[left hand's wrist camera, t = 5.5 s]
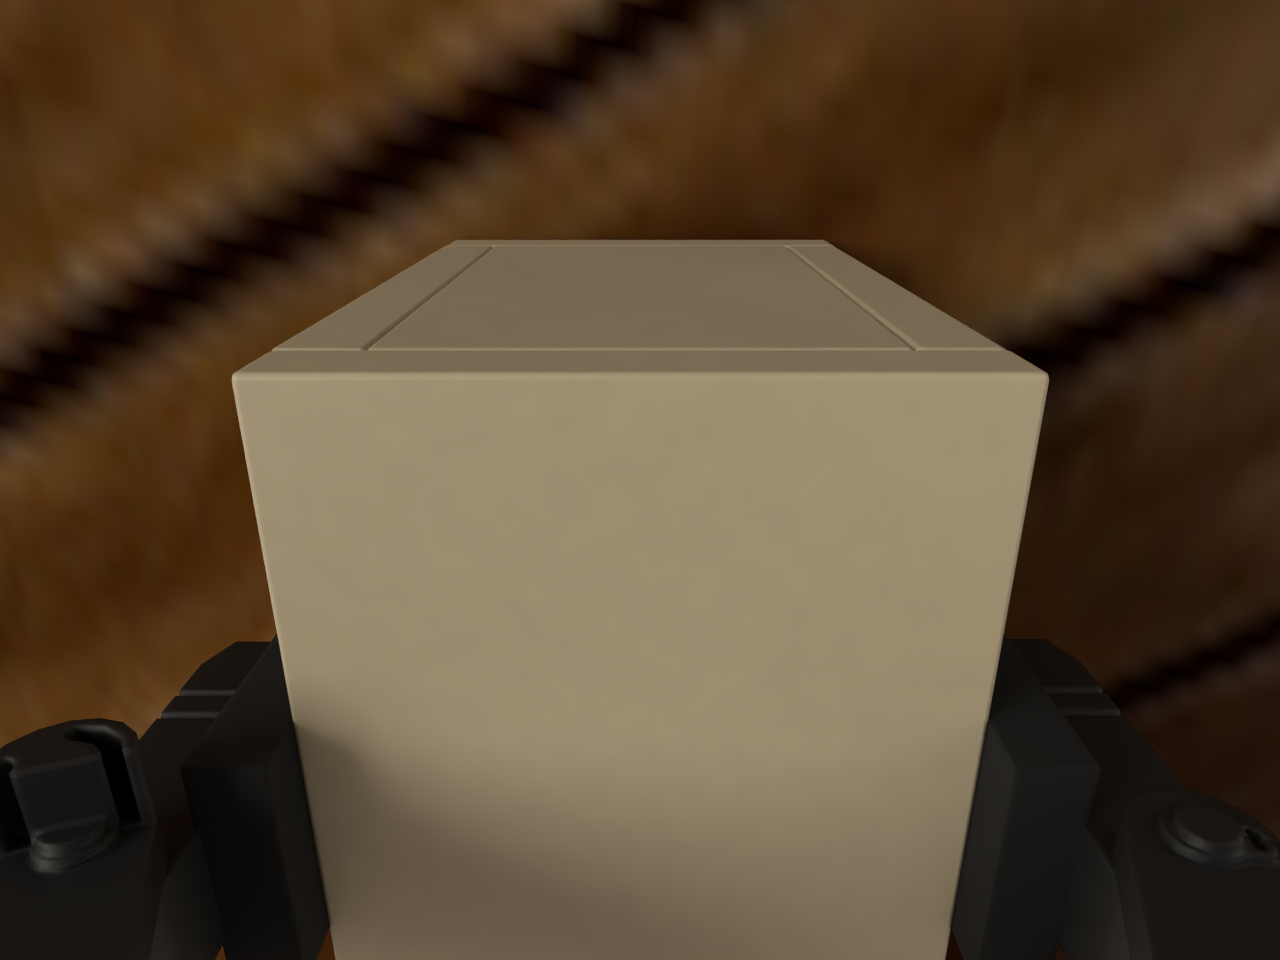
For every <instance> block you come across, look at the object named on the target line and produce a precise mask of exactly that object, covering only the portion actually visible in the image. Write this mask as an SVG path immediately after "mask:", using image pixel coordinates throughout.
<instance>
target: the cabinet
mask: <svg viewBox="0 0 1280 960" xmlns="http://www.w3.org/2000/svg"><path fill="white" fill-rule="evenodd" d="M1048 384H1049V377H1048V373H1046V372H1044V371H1043V370H1041V369H1039V368H1038V367H1036V366H1034V365H1033V364H1031V363H1029V362H1028V361H1026V360H1024V359H1023V358H1021V357H1019V356H1018V355H1016V354H1014V353H1013V352H1010V351H1008V350H1005V349H1004V348H1003V347H1001V346H999V345H998V344H996V343H994V342H993V341H991V340H989V339H988V338H986V337H984V336H983V335H981V334H979V333H978V332H976V331H974V330H973V329H971V328H969V327H968V326H966V325H964V324H963V323H961V322H959V321H958V320H956V319H954V318H953V317H951V316H949V315H948V314H946V313H944V312H943V311H941V310H939V309H938V308H936V307H934V306H933V305H931V304H929V303H928V302H926V301H924V300H923V299H921V298H919V297H918V296H916V295H914V294H913V293H911V292H909V291H908V290H906V289H904V288H903V287H901V286H899V285H898V284H896V283H894V282H893V281H891V280H889V279H888V278H886V277H884V276H883V275H881V274H879V273H878V272H876V271H874V270H873V269H871V268H869V267H868V266H866V265H864V264H863V263H861V262H859V261H858V260H856V259H854V258H853V257H851V256H849V255H848V254H846V253H844V252H843V251H841V250H839V249H838V248H836V247H834V246H833V245H831V244H830V243H828V242H826V241H824V240H456V241H454V242H452V243H451V244H449V245H447V246H445V247H443V248H441V249H440V250H438V251H436V252H435V253H433V254H431V255H430V256H428V257H426V258H425V259H423V260H421V261H420V262H418V263H416V264H415V265H413V266H411V267H409V268H408V269H406V270H404V271H403V272H401V273H399V274H398V275H396V276H394V277H393V278H391V279H389V280H388V281H386V282H384V283H383V284H381V285H379V286H378V287H376V288H374V289H373V290H371V291H369V292H368V293H366V294H364V295H363V296H361V297H359V298H358V299H356V300H354V301H352V302H351V303H349V304H347V305H346V306H344V307H342V308H341V309H339V310H337V311H336V312H334V313H332V314H331V315H329V316H327V317H326V318H324V319H322V320H321V321H319V322H317V323H316V324H314V325H312V326H311V327H309V328H307V329H306V330H304V331H302V332H301V333H299V334H297V335H296V336H294V337H292V338H290V339H289V340H287V341H285V342H284V343H282V344H280V345H279V346H277V347H275V348H274V349H273V350H272V351H271V352H269V353H267V354H265V355H263V356H262V357H260V358H258V359H257V360H255V361H253V362H252V363H250V364H248V365H247V366H245V367H243V368H242V369H240V370H238V371H237V372H235V373H233V376H232V385H233V390H234V396H235V401H236V407H237V413H238V418H239V424H240V429H241V435H242V440H243V446H244V451H245V457H246V463H247V468H248V474H249V479H250V485H251V490H252V496H253V502H254V507H255V513H256V518H257V524H258V529H259V535H260V540H261V546H262V552H263V557H264V563H265V568H266V574H267V579H268V585H269V591H270V596H271V602H272V607H273V613H274V618H275V624H276V629H277V635H278V641H279V646H280V652H281V657H282V663H283V668H284V674H285V680H286V685H287V691H288V696H289V702H290V707H291V713H292V718H293V724H294V730H295V735H296V741H297V746H298V752H299V757H300V763H301V769H302V774H303V780H304V785H305V791H306V796H307V802H308V807H309V813H310V819H311V824H312V830H313V835H314V841H315V846H316V852H317V858H318V863H319V869H320V874H321V880H322V885H323V891H324V897H325V902H326V908H327V913H328V919H329V924H330V930H331V935H332V941H333V947H334V952H335V958H336V960H945V957H946V951H947V946H948V940H949V935H950V929H951V923H952V918H953V912H954V907H955V901H956V896H957V890H958V885H959V879H960V873H961V868H962V862H963V857H964V851H965V846H966V840H967V834H968V829H969V823H970V818H971V812H972V807H973V801H974V796H975V790H976V784H977V779H978V773H979V768H980V762H981V757H982V751H983V745H984V740H985V734H986V729H987V723H988V718H989V712H990V707H991V701H992V695H993V690H994V684H995V679H996V673H997V668H998V662H999V656H1000V651H1001V645H1002V640H1003V634H1004V629H1005V623H1006V618H1007V612H1008V606H1009V601H1010V595H1011V590H1012V584H1013V579H1014V573H1015V567H1016V562H1017V556H1018V551H1019V545H1020V540H1021V534H1022V529H1023V523H1024V517H1025V512H1026V506H1027V501H1028V495H1029V490H1030V484H1031V479H1032V473H1033V467H1034V462H1035V456H1036V451H1037V445H1038V440H1039V434H1040V428H1041V423H1042V417H1043V412H1044V406H1045V401H1046V395H1047V390H1048Z"/></svg>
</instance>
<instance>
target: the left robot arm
mask: <svg viewBox="0 0 1280 960" xmlns="http://www.w3.org/2000/svg"><path fill="white" fill-rule="evenodd" d="M329 927H330V924H329V919H328V913H327V908H326V902H325V897H324V891H323V885H322V880H321V874H320V869H319V863H318V858H317V852H316V846H315V841H314V835H313V830H312V824H311V819H310V813H309V807H308V802H307V796H306V791H305V785H304V780H303V774H302V769H301V763H300V757H299V752H298V746H297V741H296V735H295V730H294V724H293V718H292V713H291V707H290V702H289V696H288V691H287V685H286V680H285V674H284V668H283V663H282V657H281V652H280V646H279V641H278V635H277V634H276V635H275V637H274V638H273V640H272V641H271V642H235V643H233V644H232V645H230V646H229V647H227V648H226V649H224V650H223V651H221V652H220V653H218V654H217V655H215V656H214V657H212V658H211V659H209V660H208V661H206V662H204V663H203V664H201V666H200V667H199V668H198V669H197V670H196V672H195V673H194V674H193V675H192V677H191V678H190V679H189V680H188V681H187V683H186V684H185V685H184V686H183V688H182V689H181V690H180V695H179V696H175V697H174V698H173V700H172V701H171V702H170V703H169V705H168V706H167V707H166V708H165V709H164V711H163V712H162V716H161V719H156V720H155V722H154V723H153V724H152V725H151V726H150V728H149V729H148V730H147V731H146V733H145V734H144V735H143V736H142V737H141V739H140V740H139V741H138V737H137V733H136V732H135V731H133V730H132V729H131V728H130V727H128V726H127V725H126V724H125V723H123V722H119V721H113V720H108V719H102V718H96V719H84V720H73V721H68V722H64V723H60V724H57V725H53V726H50V727H46V728H42V729H39V730H36V731H34V732H32V733H30V734H28V735H25V736H23V737H21V738H19V739H17V740H15V741H12V742H10V743H8V744H6V745H5V746H3V747H2V748H0V960H215V959H216V957H217V955H218V953H219V951H220V949H221V947H222V945H223V948H224V952H225V956H226V960H317V958H318V956H319V953H320V950H321V948H322V945H323V943H324V940H325V938H326V935H327V932H328V930H329ZM951 928H952V930H953V933H954V935H955V938H956V941H957V943H958V946H959V948H960V951H961V953H962V956H963V959H964V960H1055V956H1056V952H1057V948H1058V944H1059V943H1060V945H1061V947H1062V949H1063V950H1064V952H1065V954H1066V956H1067V958H1068V960H1280V842H1279V840H1278V839H1277V838H1276V836H1275V835H1274V834H1273V833H1271V832H1270V831H1269V830H1268V829H1267V828H1265V827H1264V826H1263V825H1262V824H1260V823H1259V822H1258V821H1257V820H1255V819H1254V818H1253V817H1252V816H1251V815H1249V814H1247V813H1245V812H1243V811H1241V810H1239V809H1237V808H1235V807H1233V806H1232V805H1230V804H1228V803H1226V802H1224V801H1222V800H1220V799H1217V798H1214V797H1210V796H1207V795H1204V794H1201V793H1198V792H1194V791H1191V790H1186V789H1185V788H1184V787H1183V785H1182V784H1181V783H1180V782H1179V781H1178V779H1177V778H1176V777H1175V776H1174V775H1173V773H1172V772H1171V771H1170V770H1169V769H1168V767H1167V766H1166V765H1165V764H1164V762H1163V761H1162V760H1161V759H1160V758H1159V756H1158V755H1157V754H1156V753H1155V752H1154V750H1153V749H1152V748H1151V747H1150V746H1149V744H1148V743H1147V742H1146V741H1145V740H1144V738H1143V737H1142V736H1141V735H1140V733H1139V732H1138V731H1137V730H1136V729H1135V727H1134V726H1133V725H1132V724H1131V723H1130V721H1129V720H1128V719H1127V718H1126V717H1125V716H1121V715H1120V709H1119V708H1118V707H1117V706H1116V704H1115V703H1114V702H1113V701H1112V700H1111V698H1110V697H1109V696H1108V695H1107V694H1106V693H1102V688H1101V686H1100V685H1099V684H1098V683H1097V682H1096V680H1095V679H1094V678H1093V677H1092V675H1091V674H1090V673H1089V672H1088V671H1087V669H1086V668H1085V667H1084V666H1083V665H1082V663H1081V662H1080V661H1078V660H1077V659H1075V658H1074V657H1072V656H1071V655H1069V654H1067V653H1066V652H1064V651H1063V650H1061V649H1060V648H1058V647H1057V646H1055V645H1054V644H1052V643H1051V642H1049V641H1048V640H1046V639H1008V638H1007V637H1006V636H1005V634H1003V640H1002V645H1001V651H1000V656H999V662H998V668H997V673H996V679H995V684H994V690H993V695H992V701H991V707H990V712H989V718H988V723H987V729H986V734H985V740H984V745H983V751H982V757H981V762H980V768H979V773H978V779H977V784H976V790H975V796H974V801H973V807H972V812H971V818H970V823H969V829H968V834H967V840H966V846H965V851H964V857H963V862H962V868H961V873H960V879H959V885H958V890H957V896H956V901H955V907H954V912H953V918H952V923H951Z"/></svg>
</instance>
